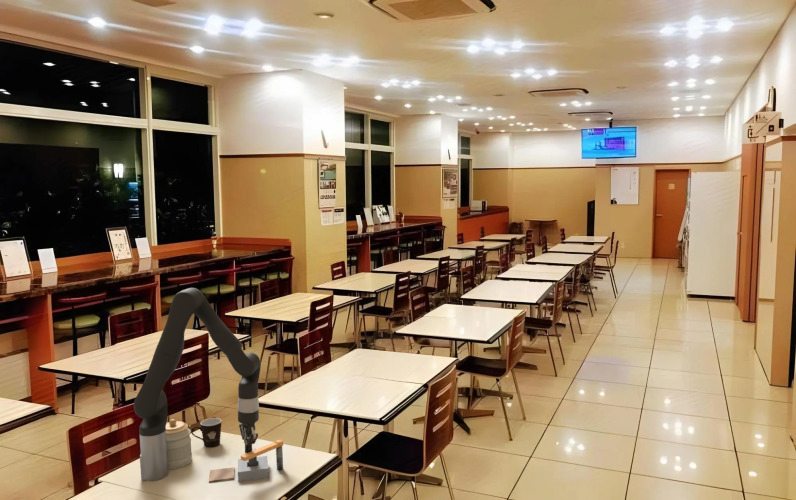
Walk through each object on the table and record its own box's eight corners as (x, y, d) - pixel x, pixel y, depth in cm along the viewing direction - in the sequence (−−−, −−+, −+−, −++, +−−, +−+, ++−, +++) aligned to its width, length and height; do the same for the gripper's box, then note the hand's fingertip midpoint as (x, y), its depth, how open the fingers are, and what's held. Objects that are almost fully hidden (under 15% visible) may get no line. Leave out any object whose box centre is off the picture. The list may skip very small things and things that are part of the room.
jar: (193, 466, 239) (190, 422, 238) (157, 472, 235) (154, 427, 233) (191, 453, 252) (189, 411, 250) (157, 458, 247) (154, 416, 245)
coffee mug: (225, 440, 263) (224, 418, 262) (218, 449, 255) (216, 426, 254) (199, 440, 264) (198, 417, 263) (191, 448, 256) (189, 425, 255)
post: (276, 471, 234) (276, 447, 233) (276, 468, 236) (275, 444, 235) (283, 470, 234) (282, 446, 233) (282, 467, 237) (282, 444, 236)
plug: (249, 475, 231) (248, 452, 230) (249, 471, 234) (248, 448, 233) (257, 474, 232) (256, 451, 231) (257, 470, 235) (256, 447, 234)
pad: (208, 482, 226) (208, 480, 226) (210, 471, 234) (210, 470, 234) (234, 479, 228) (234, 477, 228) (234, 468, 237) (234, 467, 236)
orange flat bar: (279, 442, 237) (279, 439, 236) (285, 444, 234) (284, 441, 234) (240, 459, 223) (240, 455, 223) (245, 461, 221) (245, 457, 221)
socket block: (238, 481, 226) (237, 472, 226) (238, 468, 237) (238, 459, 237) (268, 477, 229) (268, 468, 229) (267, 464, 240) (267, 456, 239)
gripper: (231, 404, 228) (232, 449, 230) (245, 416, 217) (245, 462, 219) (251, 400, 232) (251, 444, 234) (265, 411, 222) (265, 457, 224)
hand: (248, 453), depth 227 cm, fingers closed
